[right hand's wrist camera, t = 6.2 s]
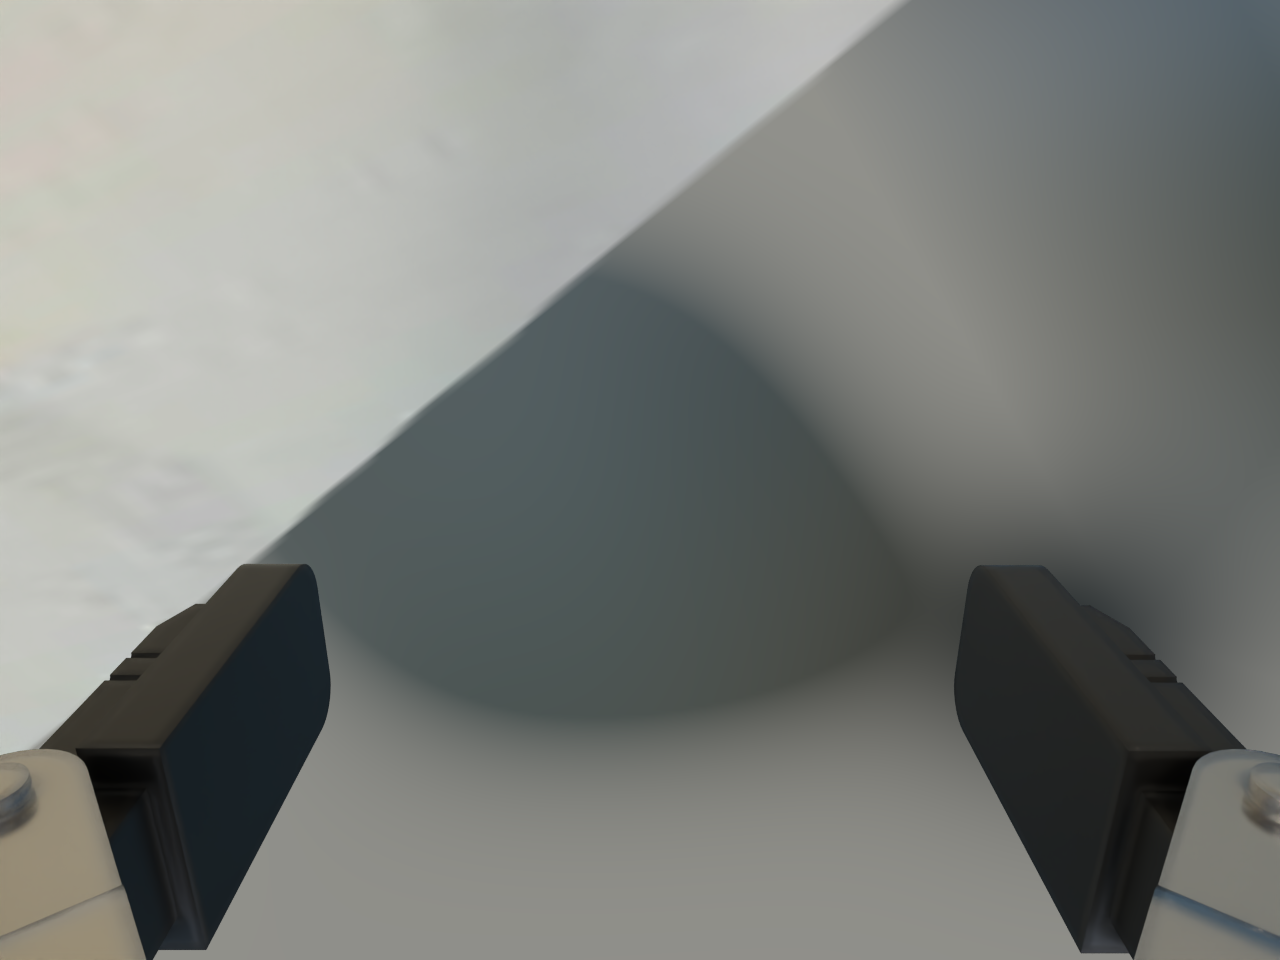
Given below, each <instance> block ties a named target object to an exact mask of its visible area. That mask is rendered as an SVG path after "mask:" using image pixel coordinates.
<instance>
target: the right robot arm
mask: <svg viewBox="0 0 1280 960" xmlns="http://www.w3.org/2000/svg"><path fill="white" fill-rule="evenodd" d="M330 686H331V684H330V671H329V664H328V657H327V650H326V643H325V637H324V630H323V623H322V616H321V609H320V602H319V595H318V588H317V583H316V579H315V575H314V573H313V571H312V569H311V567H310V566H309V565H307V564H243V565H241V566H240V567H239V568H237V570H236V571H235V572H234V573H233V574H232V575H231V576H230V577H229V578H228V580H227V581H226V582H225V583H224V584H223V585H222V586H221V587H220V588H219V589H218V591H217V592H216V593H215V594H214V595H213V596H212V597H211V598H210V599H209V601H208V602H207V603H206V604H195V605H193V606H191V607H189V608H188V609H186V610H184V611H182V612H181V613H179V614H177V615H176V616H174V617H172V618H170V619H169V620H167V621H165V622H163V623H162V624H160V625H158V626H157V627H156V628H155V629H154V630H153V631H152V632H151V633H150V634H149V635H148V636H147V637H146V638H145V639H144V640H143V641H142V642H141V643H140V644H139V645H138V646H137V647H136V648H135V649H134V651H133V652H132V653H131V658H126V659H125V660H124V661H123V662H122V663H121V664H120V665H119V666H118V667H117V668H116V669H115V670H114V671H113V672H112V673H111V675H110V680H109V681H104V682H103V683H102V684H101V685H100V686H99V687H98V688H97V689H96V690H95V691H94V692H93V693H92V694H91V695H90V696H89V697H88V699H87V700H86V701H85V702H84V703H83V704H82V705H81V706H80V707H79V708H78V709H77V710H76V711H75V712H74V713H73V714H72V715H71V716H70V717H69V718H68V719H67V720H66V721H65V723H64V724H63V725H62V726H61V727H60V728H59V729H58V730H57V731H56V732H55V733H54V734H53V735H52V736H51V737H50V738H49V739H48V740H47V741H46V742H45V743H44V744H43V745H42V747H41V748H40V749H32V750H24V751H17V752H13V753H8V754H3V755H0V960H153V958H154V956H155V955H156V953H157V951H158V950H206V949H207V947H208V945H209V944H210V941H211V940H212V938H213V936H214V934H215V932H216V930H217V928H218V926H219V924H220V923H221V921H222V919H223V917H224V915H225V913H226V911H227V909H228V907H229V905H230V903H231V902H232V900H233V898H234V896H235V894H236V892H237V890H238V888H239V886H240V884H241V882H242V881H243V879H244V877H245V875H246V873H247V871H248V869H249V867H250V865H251V863H252V861H253V860H254V858H255V856H256V854H257V852H258V850H259V848H260V846H261V844H262V842H263V841H264V839H265V837H266V835H267V833H268V831H269V829H270V827H271V825H272V823H273V821H274V820H275V818H276V816H277V814H278V812H279V810H280V808H281V806H282V804H283V802H284V800H285V799H286V797H287V795H288V793H289V791H290V789H291V787H292V785H293V783H294V781H295V779H296V778H297V776H298V774H299V772H300V770H301V768H302V766H303V764H304V762H305V760H306V758H307V757H308V755H309V753H310V751H311V749H312V747H313V745H314V743H315V741H316V739H317V737H318V736H319V734H320V732H321V730H322V728H323V725H324V723H325V720H326V717H327V713H328V708H329V701H330ZM954 695H955V705H956V711H957V715H958V719H959V722H960V725H961V727H962V730H963V732H964V734H965V736H966V737H967V739H968V741H969V743H970V745H971V747H972V749H973V751H974V753H975V754H976V756H977V758H978V760H979V762H980V764H981V766H982V768H983V769H984V771H985V773H986V775H987V777H988V779H989V781H990V783H991V785H992V786H993V788H994V790H995V792H996V794H997V796H998V798H999V800H1000V802H1001V804H1002V805H1003V807H1004V809H1005V811H1006V813H1007V815H1008V817H1009V819H1010V820H1011V822H1012V824H1013V826H1014V828H1015V830H1016V832H1017V834H1018V836H1019V837H1020V839H1021V841H1022V843H1023V845H1024V847H1025V849H1026V851H1027V853H1028V854H1029V856H1030V858H1031V860H1032V862H1033V864H1034V866H1035V867H1036V869H1037V871H1038V873H1039V875H1040V877H1041V879H1042V881H1043V883H1044V885H1045V886H1046V888H1047V890H1048V892H1049V894H1050V896H1051V898H1052V900H1053V902H1054V903H1055V905H1056V907H1057V909H1058V911H1059V913H1060V915H1061V916H1062V918H1063V920H1064V922H1065V924H1066V926H1067V928H1068V930H1069V932H1070V933H1071V935H1072V937H1073V939H1074V941H1075V943H1076V945H1077V947H1078V949H1079V950H1080V952H1081V953H1129V954H1130V955H1131V957H1132V959H1133V960H1280V755H1277V754H1272V753H1267V752H1263V751H1256V750H1247V749H1246V748H1245V747H1244V746H1243V745H1242V744H1241V743H1240V742H1239V741H1238V740H1237V739H1236V738H1235V737H1234V736H1233V735H1232V734H1231V733H1230V732H1229V731H1228V730H1227V729H1226V727H1225V726H1224V725H1223V724H1222V723H1221V722H1220V721H1219V720H1218V719H1217V718H1216V717H1215V716H1214V715H1213V714H1212V713H1211V712H1210V711H1209V710H1208V709H1207V708H1206V707H1205V706H1204V705H1203V704H1202V703H1201V702H1200V701H1199V700H1198V699H1197V697H1196V696H1195V695H1194V694H1193V693H1192V692H1191V691H1190V690H1189V689H1188V688H1187V687H1186V686H1185V685H1184V684H1183V683H1177V680H1176V676H1175V675H1174V674H1173V673H1172V672H1171V671H1170V670H1169V669H1168V667H1167V666H1166V665H1165V664H1164V663H1163V662H1162V661H1161V660H1155V654H1154V653H1153V652H1152V651H1151V650H1150V649H1149V648H1148V647H1147V646H1146V645H1145V644H1144V643H1143V642H1142V641H1141V640H1140V639H1139V637H1138V636H1137V635H1136V634H1135V633H1134V632H1133V631H1132V630H1131V629H1130V628H1128V627H1127V626H1125V625H1123V624H1121V623H1120V622H1118V621H1116V620H1114V619H1113V618H1111V617H1109V616H1107V615H1106V614H1104V613H1102V612H1100V611H1099V610H1097V609H1095V608H1094V607H1092V606H1090V605H1083V606H1082V605H1080V604H1079V603H1078V602H1077V601H1076V600H1075V599H1074V598H1073V597H1072V596H1071V595H1070V593H1069V592H1068V591H1067V590H1066V589H1065V588H1064V587H1063V586H1062V585H1061V584H1060V582H1059V581H1058V580H1057V579H1056V578H1055V577H1054V576H1053V575H1052V574H1051V573H1050V571H1049V570H1048V569H1046V568H1045V567H1043V566H1040V565H980V566H977V567H976V568H975V569H974V570H973V572H972V574H971V577H970V580H969V584H968V590H967V596H966V603H965V610H964V617H963V623H962V630H961V637H960V644H959V651H958V657H957V664H956V671H955V679H954Z"/></svg>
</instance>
